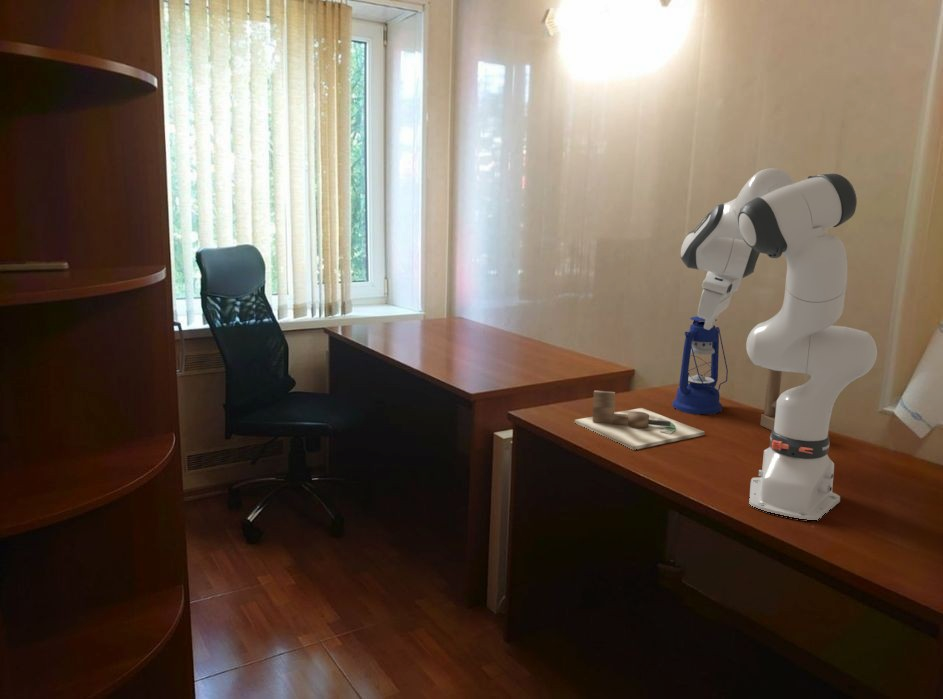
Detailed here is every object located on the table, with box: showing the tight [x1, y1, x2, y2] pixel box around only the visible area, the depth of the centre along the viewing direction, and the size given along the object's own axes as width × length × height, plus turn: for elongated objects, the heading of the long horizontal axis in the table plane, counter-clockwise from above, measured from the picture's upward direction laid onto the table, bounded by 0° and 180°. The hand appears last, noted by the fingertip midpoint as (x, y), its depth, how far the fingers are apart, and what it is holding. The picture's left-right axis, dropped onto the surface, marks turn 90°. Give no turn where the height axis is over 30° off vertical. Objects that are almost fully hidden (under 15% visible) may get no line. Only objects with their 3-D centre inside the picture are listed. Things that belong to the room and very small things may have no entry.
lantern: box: [672, 315, 729, 415], centre depth 224 cm, size 17×15×30 cm
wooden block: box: [760, 368, 783, 432], centre depth 203 cm, size 4×11×18 cm, turn 16°
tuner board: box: [574, 407, 705, 451], centre depth 206 cm, size 26×26×1 cm
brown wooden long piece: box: [592, 390, 671, 428], centre depth 205 cm, size 22×6×9 cm, turn 74°
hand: (707, 328), depth 195 cm, fingers closed
